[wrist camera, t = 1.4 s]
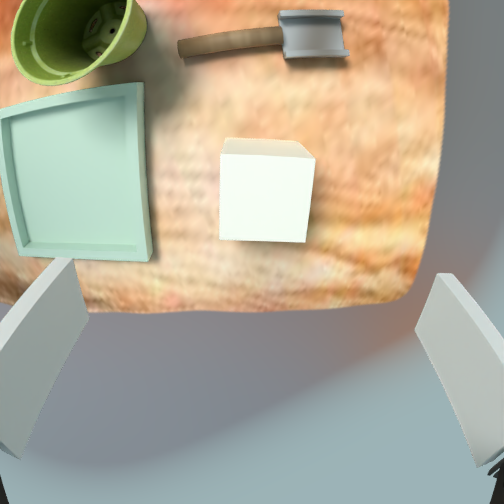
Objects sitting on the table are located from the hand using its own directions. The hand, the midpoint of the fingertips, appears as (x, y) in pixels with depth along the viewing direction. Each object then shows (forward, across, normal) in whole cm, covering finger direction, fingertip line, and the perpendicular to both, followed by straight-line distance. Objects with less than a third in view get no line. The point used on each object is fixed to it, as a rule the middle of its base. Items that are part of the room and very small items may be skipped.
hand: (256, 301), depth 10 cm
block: (+18, 0, 0) cm, 18 cm away
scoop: (+18, 0, +11) cm, 21 cm away
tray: (+18, -18, 0) cm, 25 cm away
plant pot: (+18, -12, +13) cm, 25 cm away
